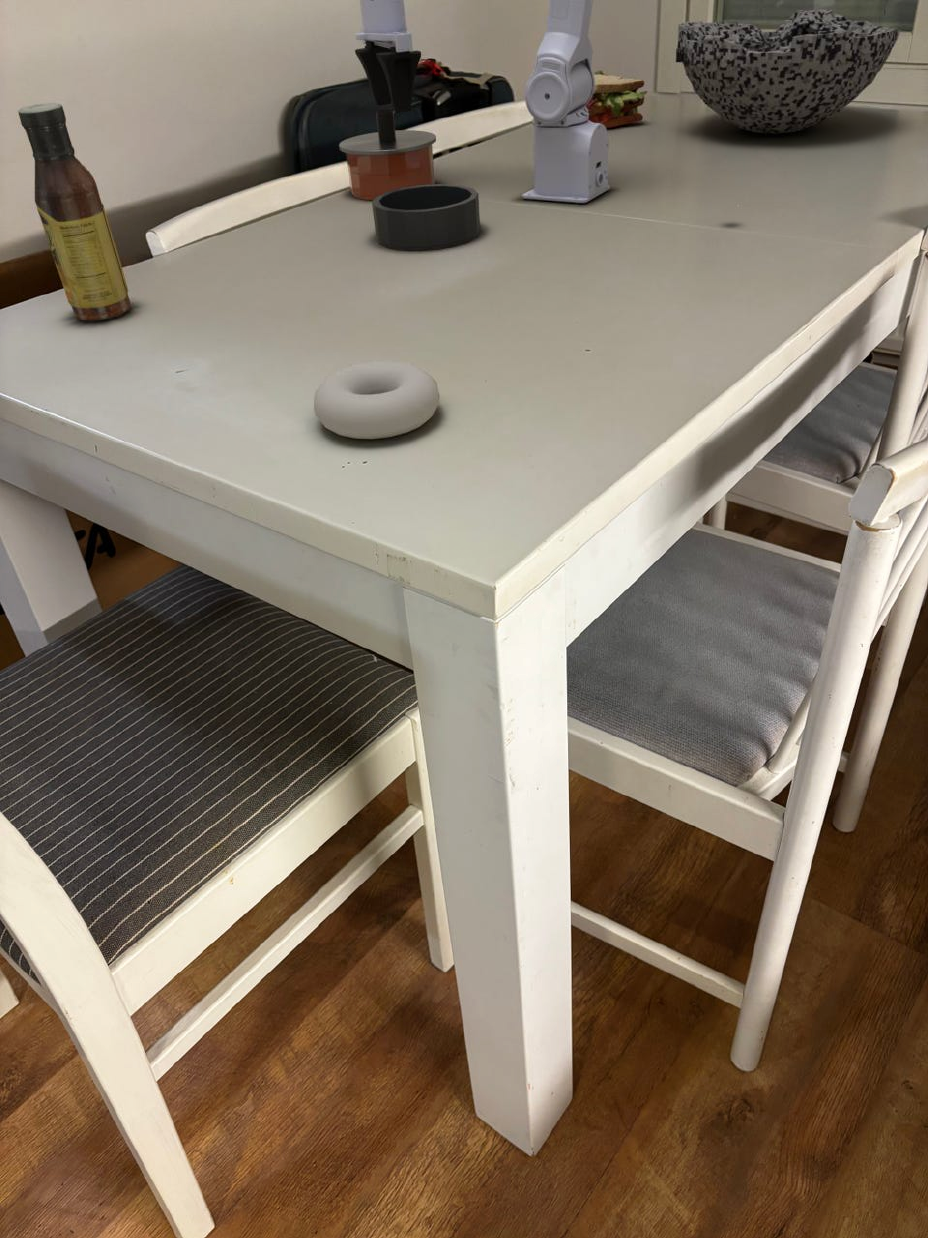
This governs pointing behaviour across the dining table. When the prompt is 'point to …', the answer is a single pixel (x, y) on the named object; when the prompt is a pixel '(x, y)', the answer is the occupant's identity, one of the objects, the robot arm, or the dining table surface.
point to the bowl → (783, 67)
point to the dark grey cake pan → (426, 217)
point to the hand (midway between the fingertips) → (392, 107)
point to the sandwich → (615, 100)
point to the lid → (387, 139)
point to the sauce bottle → (74, 218)
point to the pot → (389, 172)
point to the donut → (376, 399)
